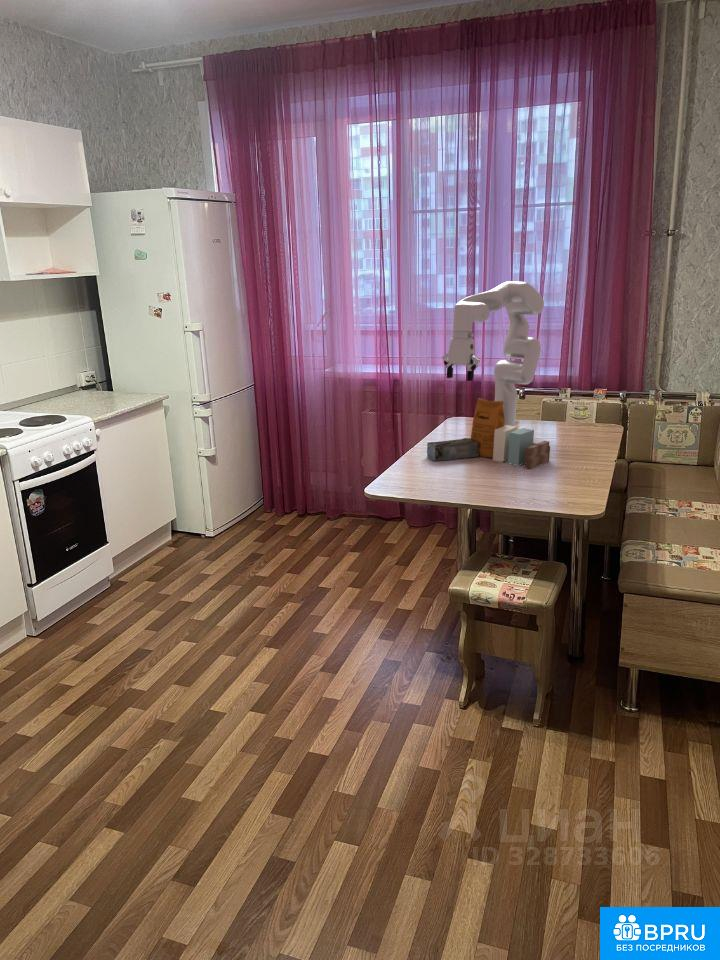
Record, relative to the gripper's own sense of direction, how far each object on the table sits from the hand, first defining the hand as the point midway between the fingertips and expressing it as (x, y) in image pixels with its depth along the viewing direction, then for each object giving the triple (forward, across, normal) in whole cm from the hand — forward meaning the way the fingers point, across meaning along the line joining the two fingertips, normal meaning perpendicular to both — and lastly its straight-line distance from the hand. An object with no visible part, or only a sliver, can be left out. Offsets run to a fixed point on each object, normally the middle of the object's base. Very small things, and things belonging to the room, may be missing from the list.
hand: (459, 379), depth 293 cm
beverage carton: (+29, -8, +12) cm, 32 cm away
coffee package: (+28, -14, 0) cm, 32 cm away
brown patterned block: (+28, -28, -1) cm, 40 cm away
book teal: (+28, -30, 0) cm, 41 cm away
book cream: (+28, -23, 0) cm, 36 cm away
